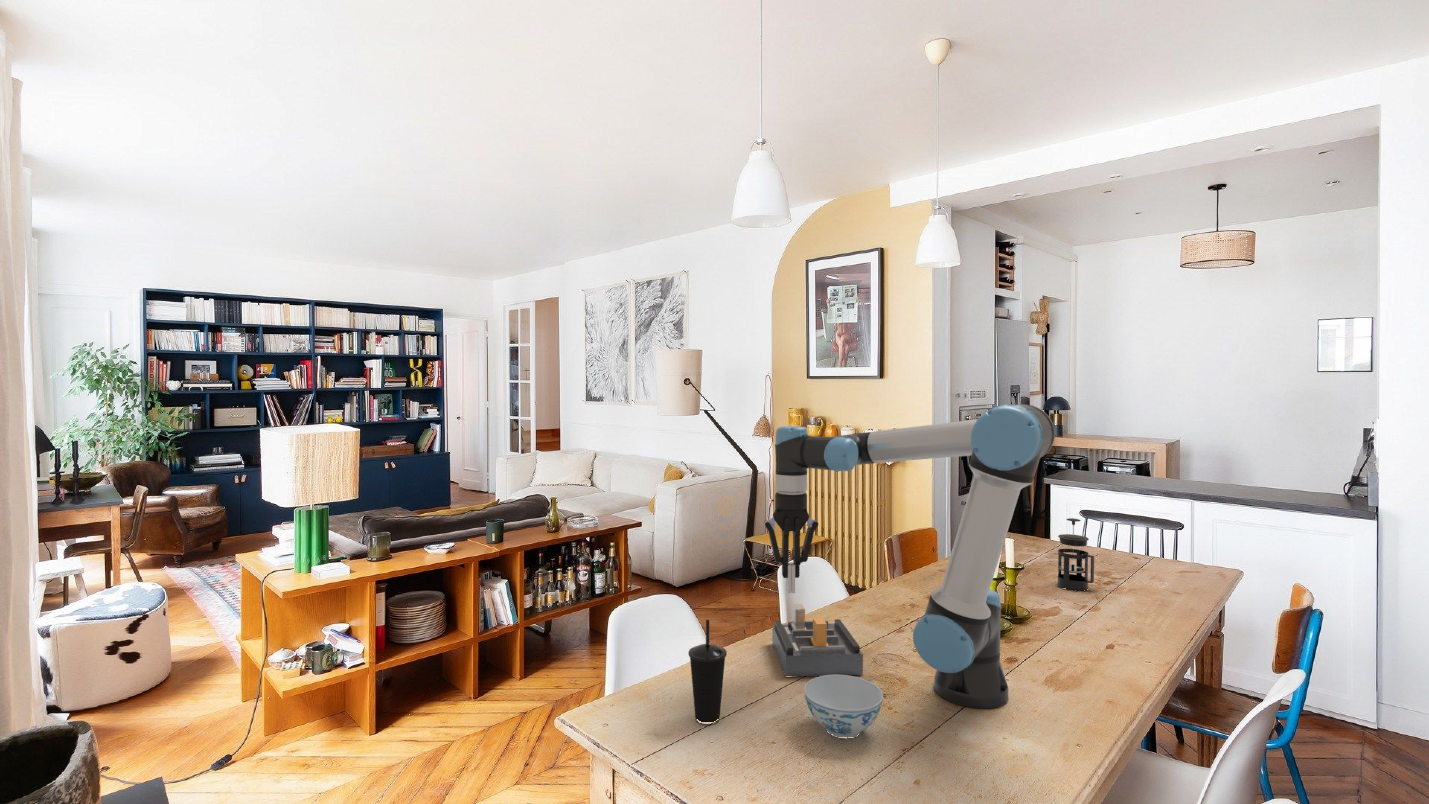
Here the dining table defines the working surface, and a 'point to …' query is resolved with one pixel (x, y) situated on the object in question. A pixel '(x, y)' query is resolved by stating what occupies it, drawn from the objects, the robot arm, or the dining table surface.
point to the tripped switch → (819, 632)
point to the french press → (1073, 580)
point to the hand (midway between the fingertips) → (790, 591)
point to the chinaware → (843, 703)
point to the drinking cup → (707, 678)
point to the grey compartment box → (815, 648)
